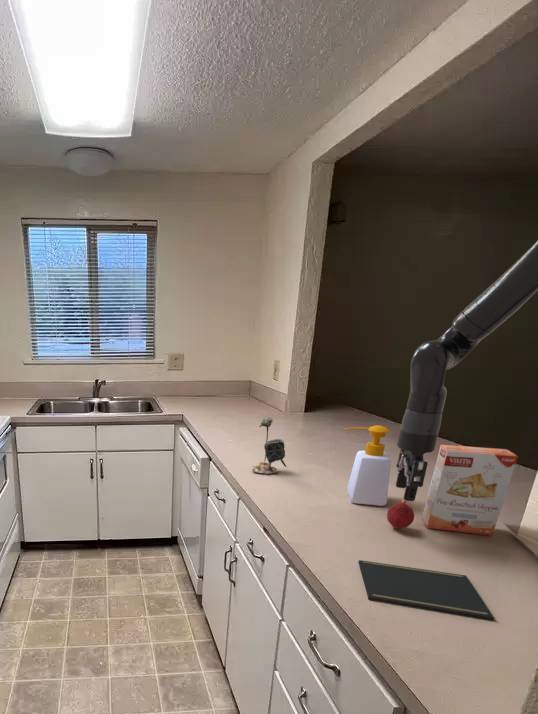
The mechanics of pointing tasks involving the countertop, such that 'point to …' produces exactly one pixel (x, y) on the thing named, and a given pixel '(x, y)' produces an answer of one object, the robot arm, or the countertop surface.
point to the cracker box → (468, 488)
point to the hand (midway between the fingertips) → (404, 493)
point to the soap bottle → (370, 471)
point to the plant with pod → (270, 451)
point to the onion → (400, 515)
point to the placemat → (423, 589)
